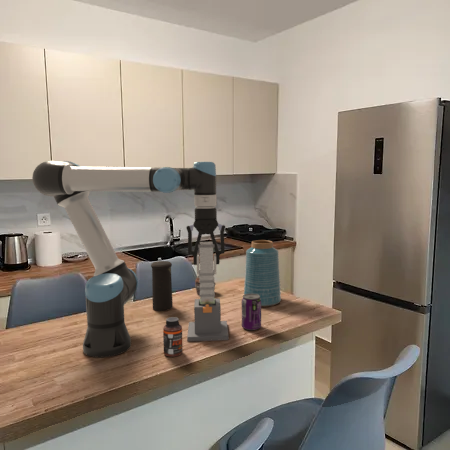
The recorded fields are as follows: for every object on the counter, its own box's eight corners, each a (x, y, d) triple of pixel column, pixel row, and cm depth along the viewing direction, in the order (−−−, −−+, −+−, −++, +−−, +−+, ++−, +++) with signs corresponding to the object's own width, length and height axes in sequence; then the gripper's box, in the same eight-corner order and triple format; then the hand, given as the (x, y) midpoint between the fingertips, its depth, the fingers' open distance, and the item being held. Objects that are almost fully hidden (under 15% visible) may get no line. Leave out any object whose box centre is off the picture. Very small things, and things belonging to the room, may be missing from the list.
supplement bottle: (174, 359, 124) (173, 323, 122) (159, 355, 127) (158, 320, 126) (186, 352, 129) (185, 317, 127) (171, 347, 132) (170, 314, 131)
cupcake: (193, 296, 187) (192, 275, 186) (197, 290, 196) (197, 270, 195) (213, 297, 185) (213, 275, 184) (217, 291, 195) (217, 270, 194)
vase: (283, 307, 170) (283, 244, 166) (244, 308, 170) (243, 245, 167) (278, 295, 186) (278, 238, 183) (243, 296, 186) (242, 238, 183)
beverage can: (260, 332, 144) (259, 299, 143) (240, 330, 146) (240, 298, 144) (262, 324, 151) (262, 293, 150) (243, 323, 152) (243, 292, 151)
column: (199, 310, 140) (197, 244, 137) (199, 305, 146) (198, 242, 143) (215, 309, 140) (214, 244, 138) (215, 304, 146) (214, 241, 143)
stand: (187, 341, 137) (186, 307, 136) (189, 325, 151) (188, 294, 149) (228, 340, 138) (228, 306, 136) (226, 324, 152) (226, 293, 150)
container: (177, 306, 173) (176, 260, 170) (163, 313, 165) (161, 265, 163) (162, 303, 177) (160, 258, 175) (147, 309, 170) (145, 262, 167)
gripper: (178, 208, 134) (179, 276, 137) (232, 207, 135) (233, 275, 138) (179, 206, 142) (181, 271, 145) (231, 205, 143) (232, 270, 146)
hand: (206, 273), depth 142 cm, fingers closed on column, 5 cm apart
